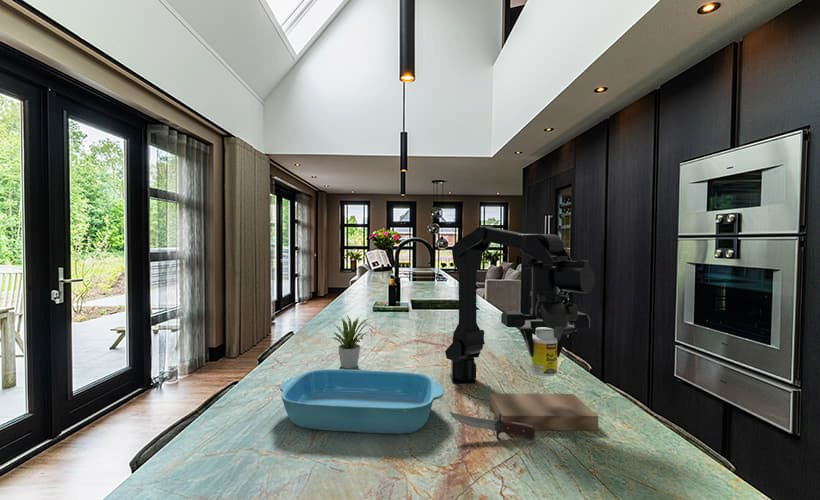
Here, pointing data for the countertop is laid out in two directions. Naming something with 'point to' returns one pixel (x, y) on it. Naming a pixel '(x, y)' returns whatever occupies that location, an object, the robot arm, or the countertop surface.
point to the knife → (497, 425)
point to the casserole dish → (360, 400)
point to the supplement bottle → (544, 352)
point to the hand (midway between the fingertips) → (544, 356)
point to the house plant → (349, 343)
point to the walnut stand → (544, 411)
